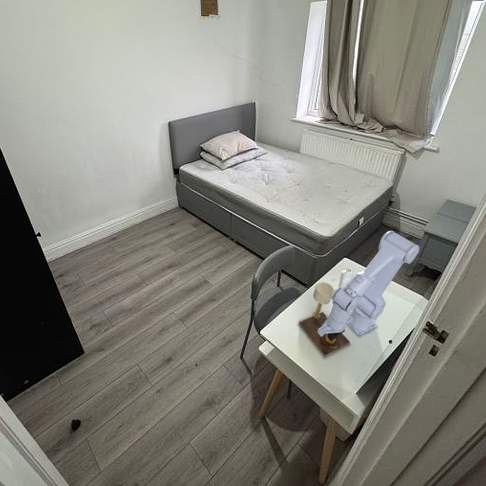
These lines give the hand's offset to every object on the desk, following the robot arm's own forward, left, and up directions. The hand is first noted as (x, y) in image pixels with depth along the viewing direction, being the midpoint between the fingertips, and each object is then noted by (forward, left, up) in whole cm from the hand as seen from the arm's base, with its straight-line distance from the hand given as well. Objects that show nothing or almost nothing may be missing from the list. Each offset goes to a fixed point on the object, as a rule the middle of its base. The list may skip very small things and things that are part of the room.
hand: (330, 338), depth 108 cm
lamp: (-2, -10, 0) cm, 10 cm away
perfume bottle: (-22, -17, -4) cm, 28 cm away
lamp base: (-1, -4, -4) cm, 6 cm away
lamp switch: (0, 0, -2) cm, 2 cm away
